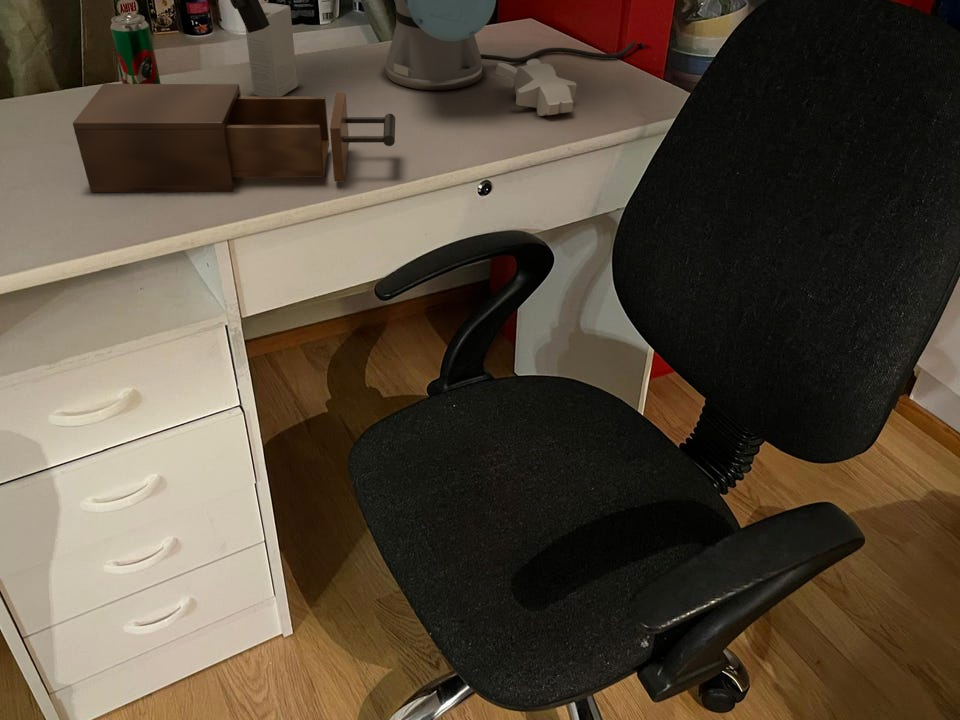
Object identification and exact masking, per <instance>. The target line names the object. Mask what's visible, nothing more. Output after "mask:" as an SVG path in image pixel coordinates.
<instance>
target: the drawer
mask: <svg viewBox="0 0 960 720" xmlns="http://www.w3.org/2000/svg"><path fill="white" fill-rule="evenodd" d="M334 98H335V99H334V105H333V109H332V115H331V119H330V126H329V122H328V109H327V98H326V96H281V97H273V96H256V95H253V96H252V95H251V96H246V95H245V96H242V95H241V96H237V98H236V100H235V103H234V105H233V107H232V110H231V112H230V114H229V117H228V119H227V121H226V124H225V126H224V127H225V133H226V139H227V145H228V152H229V158H230V164H231V171H232V177H238V178H324V176H325V170H326V166H327V160H328V154H329V149H330V148H329V147H331V154H332V155H331V156H332V157H331V158H332V168H333V169H332V170H333V182H335V183H337V182H339V183H340V182H345V178H346V170H347V165H348V164H347V163H348V155H349V149H350V143H355V144H356V143H359V144H360V143H361V144H362V143H364V144H365V143H383V144H384V146H386V147H392V146H394V145H395V143H396V116H395V115H394V114H393V113H386V114H385V115H384V117H383V116H360V117H359V116H357V117H356V116H348V106H347V93H346V92H336V93H335V97H334ZM349 124H383V133H382V134H383V135H349ZM329 132H330V133H329ZM329 134H330V135H329ZM330 145H331V146H330Z"/></svg>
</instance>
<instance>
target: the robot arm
mask: <svg viewBox="0 0 960 720" xmlns="http://www.w3.org/2000/svg"><path fill="white" fill-rule="evenodd" d="M229 1H230V3H231V6H232V7H233V9H234V10H237V11H238V12H237V13H238V14H239V16H240V18H241V20H242V22H243V24H244V26H246V28H247V31H248V33H251V32H255V31H258V30H262V29H264V28H266V27H267V26H269V25H270V24H269V22H268V20H267V18H266V15H265V13H264V11H263V9H262V7H261V5H262V4H261V2H260V1H259V0H229ZM496 3H497V0H395V15H396V16H395V17H396V19H395V20H396V21H395V22H396V23H395V29H394V31H393V36H392V40H391V43H390V46H389V50H388V53H387V57H386V62H385V63H386V64H385V67H386V70H385V71H386V76H387V79H390V81H392V82H394V83H395V84H397V85H400V86H403V87H406V88H410V89H414V90H415V89H416V90H423V91H424V90H425V91H447V90H455V89H456V90H457V89H462V88H464V87H468V86H472V85H475V83H477V82H478V81H480V80H481V78H482V77H483V60H486V61H487V60H489V61H499V62H503V63H510V64H512V63H513V64H517V63H525V62H527V61H529V60H531V59H536V58H537V57H539V56H541V55H544V54H550V53H566V54H573V55H579V56H584V57H590V58H597V59H616V58H620V57H623V56H625V55H627V54H628V53H629V52H630V51H631V50H632V49H633V48H634V47H635V46H637V47H638V48H639V49H645V45H644V44H643V42H641V43H640V44H637V45H635V44H636V43H635V42H632V41H631V42H632V43H631V42H630V43H629V44H628V45H627V47H625V48H624V49H623V50H620V51H618V52H614V53H602V52H593V51H588V50H582V49H578V48H577V49H576V48H570V47H547V48H542V49H539V50H536V51H535V52H532V53H530V54H528V55H525V56H522V57H510V56H509V57H508V56H502V55H496V54H485V53H484V54H483V53H480V49H479V45H478V43H477V39H476V36H475V35H476V34H477V33H479V32H480V31H481V30H483V28H485V26H486V25H487V24H488V23H489V21H490V19H491V17H492V16H493V14H494V11H495V7H496ZM246 28H245V29H246ZM634 45H635V46H634Z"/></svg>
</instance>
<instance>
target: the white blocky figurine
mask: <svg viewBox="0 0 960 720" xmlns="http://www.w3.org/2000/svg"><path fill="white" fill-rule="evenodd" d="M494 74H496V75H497V76H501V77H502V78H506V79H510V80H512V81H513V85H514V91H515V95H516V97H515V105H517V106H520V107H528V108H535V109H536V114H537V115H538V117H544V116H545V117H546V116H552V115H558V114H565V113H573V109H574V100H573V99H575V98H576V95H577V94H576V93H577V86H578V85H577V83H576V82H575V81H572V80H568V79H565V78H561V77H559V76H557V74H556V70H555V68H554V67H553V66H552V65H551V64H549V63H548V62H547V63H546V62H545V63H541V60H540V59H538V58H533V59H531V60H528V61H526V65H521V66H518V68H516V67H514V66H512V65H510V63H507V62H499V63H498V64H497V65H496V68H495V69H494Z"/></svg>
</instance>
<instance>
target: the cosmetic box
mask: <svg viewBox="0 0 960 720" xmlns="http://www.w3.org/2000/svg"><path fill="white" fill-rule="evenodd" d="M260 5H261V7H262V9H263V11H264V13H265V15H266V18H267V20H268V22H269V24H270V25H269V26H267V27H266V28H264V29H262V30H258V31H255V32H251V33H248V31H247V28H246V26H245V25H244V26H245V27H244V28H245V34H246V42H247V43H246V44H247V51H248V60H249V68H250V75H251V83H252V84H251V85H252V93H253V96H273V97H284V96H286V95H287V94H288V93H289V92H291V91H293V90H295V89H296V88H297V87H298V86H299V84H298V74H297V73H298V72H297V64H296V54H295V43H294V32H293V31H294V30H293V22H292V21H293V20H292V11H291V6H290V5H286V4H279V3H273V2H272V3H271V2H265V3H263V4H260Z"/></svg>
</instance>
